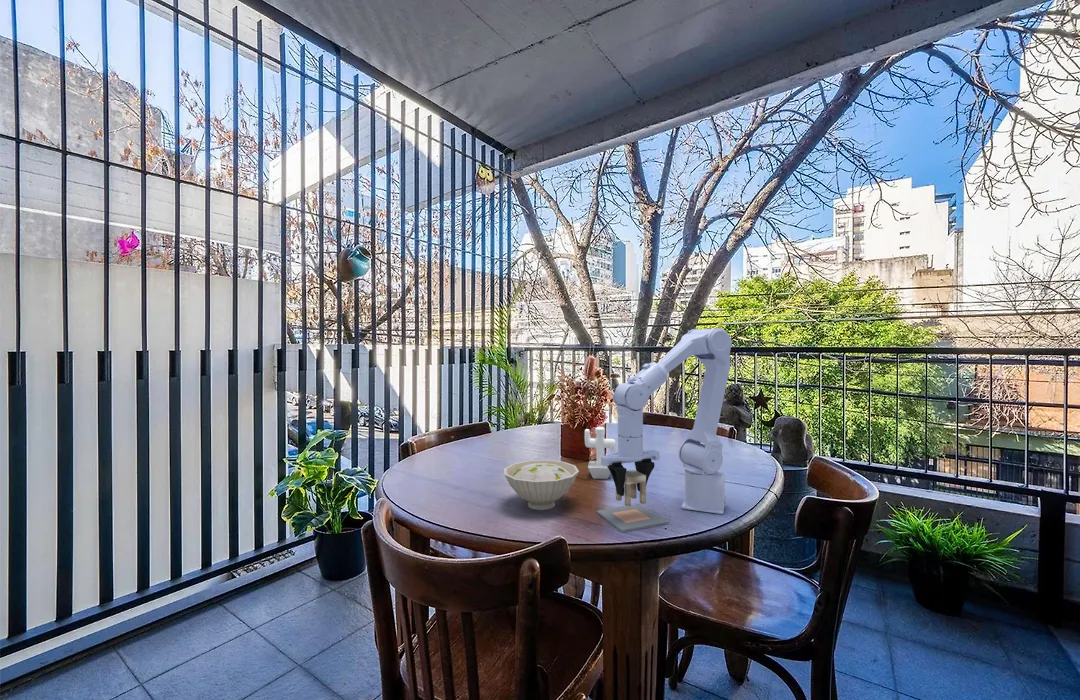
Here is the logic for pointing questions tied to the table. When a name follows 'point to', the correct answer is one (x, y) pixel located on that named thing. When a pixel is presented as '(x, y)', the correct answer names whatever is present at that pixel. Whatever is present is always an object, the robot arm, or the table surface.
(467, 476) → the table surface
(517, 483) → the bowl
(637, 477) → the stool
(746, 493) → the table surface
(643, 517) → the mat
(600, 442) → the figurine
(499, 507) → the table surface
